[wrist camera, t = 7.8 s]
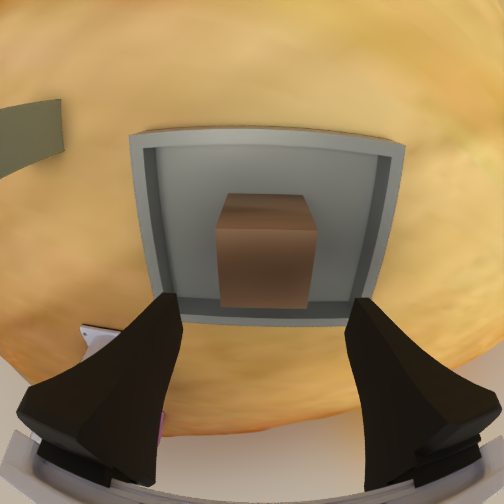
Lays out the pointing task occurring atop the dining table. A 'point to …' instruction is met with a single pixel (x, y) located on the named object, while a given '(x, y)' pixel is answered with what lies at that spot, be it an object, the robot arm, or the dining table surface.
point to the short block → (265, 251)
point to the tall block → (29, 134)
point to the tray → (264, 182)
